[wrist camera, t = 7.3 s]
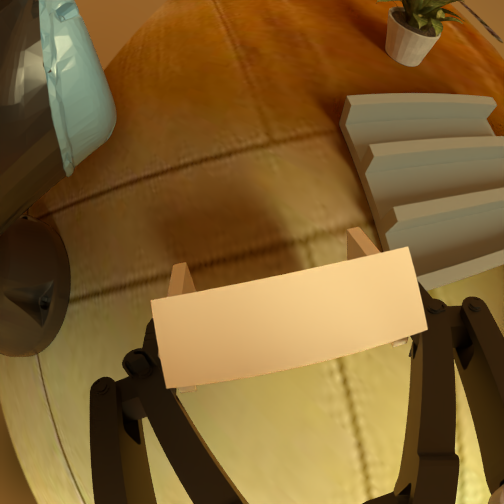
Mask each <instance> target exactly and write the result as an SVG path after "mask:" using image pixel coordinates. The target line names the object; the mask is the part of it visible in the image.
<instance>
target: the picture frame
mask: <svg viewBox="0 0 504 504" xmlns="http://www.w3.org/2000/svg"><path fill="white" fill-rule="evenodd" d="M151 307H152V313H153V320H154V326H155V332H156V338H157V343H158V349H159V354H160V359H161V365H162V370H163V374H164V379H165V384H166V388H167V389H168V388H177V387H186V386H194V385H202V384H209V383H216V382H223V381H229V380H235V379H241V378H247V377H252V376H258V375H263V374H268V373H273V372H278V371H283V370H288V369H292V368H297V367H301V366H306V365H310V364H314V363H318V362H322V361H326V360H330V359H334V358H338V357H342V356H346V355H349V354H353V353H356V352H360V351H363V350H367V349H370V348H374V347H377V346H380V345H383V344H387V343H390V342H393V341H396V340H399V339H402V338H405V337H408V336H411V335H414V334H417V333H420V332H423V331H425V330H428V328H427V323H426V318H425V313H424V308H423V303H422V299H421V295H420V290H419V286H418V282H417V278H416V274H415V270H414V266H413V262H412V259H411V255H410V251H409V248H408V247H404V248H399V249H395V250H391V251H387V252H382V253H378V254H374V255H369V256H365V257H361V258H356V259H352V260H347V261H343V262H339V263H334V264H330V265H325V266H320V267H316V268H311V269H307V270H302V271H297V272H293V273H288V274H283V275H278V276H274V277H269V278H264V279H259V280H254V281H249V282H244V283H239V284H234V285H229V286H224V287H219V288H214V289H209V290H204V291H198V292H193V293H188V294H182V295H177V296H172V297H166V298H161V299H155V300H151Z"/></svg>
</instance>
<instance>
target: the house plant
mask: <svg viewBox="0 0 504 504" xmlns="http://www.w3.org/2000/svg"><path fill="white" fill-rule="evenodd" d="M381 1H393V2H394V1H401V0H378V1H377V2H381ZM456 1H462V0H424V1H423V0H402V3H403V7H398V6H397V5H396V6H397V7H392V8H390V10H389V12H388V25H387V36H386V46H385V50H386V52H387V54H388V55H389V56H390V57H391V58H392V59H394V60H395V61H397V62H399V63H401V64H403V65H407V66H417V65H419V64H420V62H421V61H422V60H423V58H424V57H425V56H426V54H427V53H428V52H429V50H430V49H431V48H432V46H433V45H434V44H435V42H436V41H437V40H438V38H439V37H440V35H441V32H442V30H443V25H442V23H441V21H457V22H460V23H462V22H461V21H460V20H458V19H456V18H453V17H445V18H444V16H445V14H444V13H448V14H451V15H454V16H456V17H459V16H458V15H456V14H454V13H453V12H451V11H449V10H446V9H443V8H440V7H442V6H444V5H446V4H449V3H452V2H456ZM377 2H376V3H377ZM463 2H464V1H463ZM459 18H460V17H459ZM460 19H461V18H460ZM462 20H463V19H462ZM463 21H464V20H463ZM462 24H463V23H462Z"/></svg>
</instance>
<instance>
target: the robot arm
mask: <svg viewBox="0 0 504 504" xmlns="http://www.w3.org/2000/svg"><path fill="white" fill-rule="evenodd" d="M115 124H116V107H115V103H114V100H113V96H112V94H111V91H110V88H109V85H108V82H107V80H106V77H105V74H104V72H103V69H102V66H101V64H100V61H99V58H98V56H97V54H96V51H95V48H94V46H93V43H92V41H91V39H90V35H89V33H88V31H87V28H86V26H85V23H84V21H83V19H82V17H81V16H80V15H79V10H78V7H77V6H76V3H75V1H74V0H0V354H2V355H6V356H10V357H29V356H33V355H36V354H38V353H40V352H41V351H43V350H44V349H45V348H46V347H48V346H49V344H50V343H51V342H52V341H53V340H54V338H55V337H56V335H57V333H58V332H59V330H60V328H61V325H62V323H63V320H64V318H65V314H66V311H67V307H68V302H69V295H70V268H69V261H68V257H67V253H66V250H65V247H64V245H63V242H62V241H61V239H60V237H59V236H58V234H57V233H56V232H55V230H54V229H53V228H51V227H50V226H49V225H47V224H45V223H44V222H42V221H40V220H38V219H37V218H35V217H32V216H29V215H22V214H23V213H24V212H25V211H26V210H27V209H28V208H29V207H30V206H32V205H33V204H34V203H35V202H36V201H37V200H38V199H39V198H40V197H41V196H43V195H44V194H45V193H46V192H47V191H48V190H49V189H51V188H52V187H53V186H54V185H55V184H56V183H58V182H59V181H60V180H61V179H62V178H64V177H65V176H67V177H69V176H71V175H72V173H73V172H74V168H75V167H76V166H77V165H78V164H79V163H81V162H82V161H83V160H84V159H85V158H87V157H88V156H89V155H90V154H91V153H93V152H94V151H95V150H96V149H97V148H99V147H100V146H101V145H102V144H104V143H105V142H106V141H107V140H108V138H109V137H110V136H111V134H112V132H113V129H114V127H115ZM378 253H381V252H380V251H379V250H378V249H377V248H376V246H375V245H374V244H373V243H372V242H371V240H370V239H369V238H368V237H367V236H366V234H365V233H364V232H363V231H362V230H361V228H360V227H355V228H350V229H347V260H352V259H356V258H361V257H365V256H369V255H374V254H378ZM417 282H418V280H417ZM418 286H419V290H420V295H421V299H422V303H423V308H424V313H425V318H426V323H427V328H428V330H425V331H423V332H420V333H417V334H414V335H411V336H410V337H411V338H412V340H413V342H412V346H411V350H410V353H409V357H411V374H410V391H409V404H408V415H407V424H406V433H405V440H404V447H403V454H402V460H401V466H400V472H399V476H398V479H397V482H396V484H395V488H394V491H393V492H391V493H389V494H386V495H383V496H380V497H377V498H375V499H372V500H369V501H366V502H365V503H363V504H455V501H456V493H457V485H458V475H459V457H458V455H456V454H455V430H456V393H455V371H454V360H455V363H456V366H457V369H458V372H459V375H460V378H461V381H462V384H463V387H464V390H465V394H466V397H467V400H468V404H469V407H470V411H471V415H472V418H473V422H474V426H475V430H476V434H477V439H478V443H479V447H480V452H481V457H482V462H483V467H484V473H485V477H486V481H487V485H488V487H489V490H490V493H491V497H490V499H489V502H488V504H504V337H503V335H502V333H501V331H500V330H499V328H498V326H497V324H496V322H495V320H494V318H493V316H492V314H491V312H490V311H489V309H488V307H487V305H486V304H485V302H484V301H483V300H481V299H480V298H477V297H467V298H465V299H464V300H463V303H462V306H447V305H446V304H445V303H444V302H443V301H441V300H438V299H432V297H431V296H430V295H429V294H428V292H427V291H426V290H425V289H424V287H423V286H422V285H421V284H420V282H418ZM193 292H196V289H195V286H194V283H193V280H192V278H191V275H190V272H189V269H188V266H187V263H186V262H184V263H179V264H174V265H173V269H172V274H171V279H170V284H169V290H168V295H167V297H172V296H177V295H182V294H188V293H193ZM145 334H146V335H145V337H144V342H143V347H142V348H138V349H135V350H132V351H130V352H129V353H127V355H126V356H125V357H124V359H123V362H122V366H123V368H124V370H125V371H126V372H127V374H128V375H129V376H128V377H126V378H124V379H121V380H119V381H116V382H115V381H114V380H113V379H112V378H110V377H102V378H100V379H98V380H97V381H95V382H94V383H93V385H92V386H91V390H90V452H91V469H92V482H93V492H94V501H95V504H157V502H156V497H155V493H154V488H153V484H152V479H151V474H150V468H149V463H148V457H147V451H146V445H145V439H144V432H143V425H142V418H144V417H148V419H149V421H150V424H151V426H152V428H153V430H154V432H155V434H156V436H157V438H158V440H159V442H160V444H161V446H162V448H163V450H164V452H165V454H166V456H167V458H168V460H169V462H170V464H171V465H172V467H173V469H174V471H175V473H176V475H177V476H178V478H179V480H180V482H181V483H182V485H183V487H184V488H185V490H186V492H187V494H188V495H189V497H190V499H191V500H192V502H193V503H194V504H249V503H248V502H247V501H246V500H245V498H244V497H243V496H242V494H241V493H240V492H239V490H238V489H237V488H236V486H235V485H234V483H233V482H232V481H231V479H230V478H229V477H228V475H227V474H226V472H225V471H224V469H223V468H222V467H221V465H220V464H219V462H218V461H217V459H216V458H215V456H214V455H213V453H212V452H211V450H210V449H209V447H208V446H207V444H206V443H205V441H204V440H203V438H202V436H201V435H200V433H199V432H198V430H197V428H196V427H195V425H194V424H193V422H192V420H191V419H190V417H189V415H188V414H187V412H186V410H185V409H184V407H183V405H182V403H181V402H180V400H179V398H178V397H177V395H176V388H168V389H167V388H166V384H165V379H164V374H163V370H162V365H161V359H160V354H159V349H158V343H157V338H156V332H155V326H154V320H153V318H152V319H151V320H150V322H149V323H148V325H147V328H146V332H145ZM407 340H408V337H405V338H402V339H399V340H396V341H393V342H390V343H391V345H392V347H396V346H399V345H402V344H405V343H407ZM177 388H178V390H179V391H180V393H184V392H192V391H196V390H197V385H194V386H186V387H177Z"/></svg>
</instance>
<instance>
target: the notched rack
mask: <svg viewBox="0 0 504 504" xmlns="http://www.w3.org/2000/svg"><path fill="white" fill-rule="evenodd" d="M496 106H497V104H496V102H495V101H494V99H493V98H492V97H484V96H473V95H458V94H435V93H390V94H366V95H350V96H346V100H345V104H344V107H343V111H342V114H341V118H340V121H339V126H340V128H341V131H342V133H343V136H344V138H345V141H346V143H347V146H348V148H349V151H350V153H351V156H352V159H353V161H354V164H355V166H356V169H357V172H358V175H359V177H360V180H361V183H362V186H363V189H364V192H365V195H366V197H367V200H368V203H369V206H370V209H371V213H372V216H373V219H374V222H375V225H376V229H377V232H378V235H379V238H380V242H381V245H382V249H383V252H387V251H391V250H395V249H399V248H404V247H408V248H409V251H410V255H411V259H412V262H413V266H414V270H415V274H416V278H417V280H418V282H420V284H421V285H422V286H423V287H424V289H425V290H426V291H427V290H431V289H434V288H437V287H440V286H443V285H446V284H449V283H452V282H455V281H458V280H461V279H464V278H467V277H470V276H473V275H475V274H478V273H481V272H484V271H486V270H489V269H492V268H495V267H497V266H500V265H502V264H504V136H495V134H494V132H493V130H492V129H491V127H490V125H489V123H488V121H487V120H486V118H487V117H488V116H489V115H490V113H491V112H492V111H493V110H494V109H495V107H496Z"/></svg>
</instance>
